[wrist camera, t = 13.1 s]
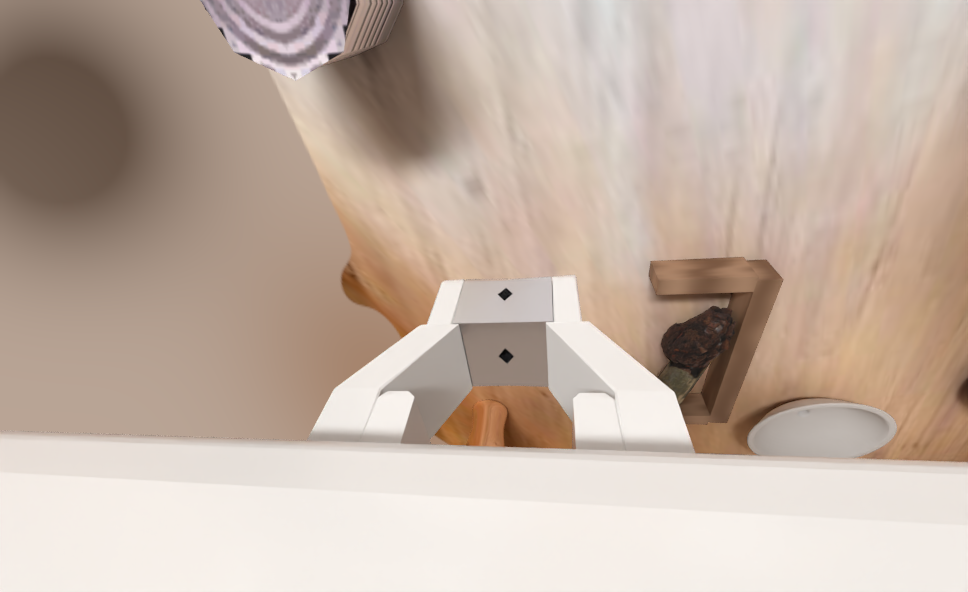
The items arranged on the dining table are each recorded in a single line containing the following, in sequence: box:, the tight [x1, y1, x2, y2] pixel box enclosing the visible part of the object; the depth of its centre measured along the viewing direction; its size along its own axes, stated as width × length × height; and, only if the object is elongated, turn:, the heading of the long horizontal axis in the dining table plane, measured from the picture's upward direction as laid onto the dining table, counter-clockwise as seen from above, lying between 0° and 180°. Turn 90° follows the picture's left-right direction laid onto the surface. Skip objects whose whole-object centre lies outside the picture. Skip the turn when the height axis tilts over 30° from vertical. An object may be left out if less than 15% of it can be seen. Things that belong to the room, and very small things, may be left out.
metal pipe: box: [658, 306, 736, 406], centre depth 52 cm, size 18×7×6 cm, turn 172°
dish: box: [747, 398, 897, 458], centre depth 56 cm, size 18×14×5 cm
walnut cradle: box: [649, 257, 783, 425], centre depth 51 cm, size 12×26×4 cm, turn 7°
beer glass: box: [466, 400, 508, 447], centre depth 61 cm, size 7×7×15 cm
